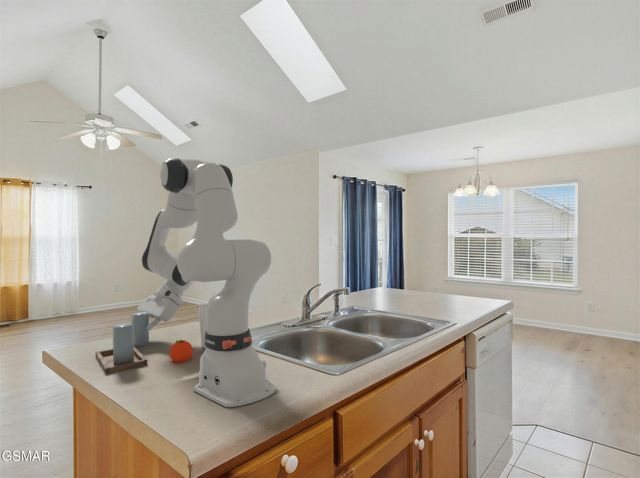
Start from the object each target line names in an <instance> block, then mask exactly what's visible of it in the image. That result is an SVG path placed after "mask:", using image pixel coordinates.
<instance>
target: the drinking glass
mask: <svg viewBox="0 0 640 478" xmlns="http://www.w3.org/2000/svg"><path fill="white" fill-rule="evenodd" d="M207 304H208V303H202V304H199V305H198V322H199V331H200V332H199V333H200V341H201V343H200V344H201V348H202V349H206V346H205V332H206V331H207V313H206V307H207Z"/></svg>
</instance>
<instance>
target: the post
mask: <svg viewBox="0 0 640 478" xmlns="http://www.w3.org/2000/svg"><path fill="white" fill-rule="evenodd" d="M149 318H150V317H149V313H148V312H139V311H137V312H134V313H131V324H133V332H134V347H135V348H138V347H145V346H148V345H149V344H150V330H148V329H146V328H145V326H146V325H147V324H148V323H150V322H149V321H150V319H149Z"/></svg>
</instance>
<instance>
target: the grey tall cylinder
mask: <svg viewBox="0 0 640 478" xmlns="http://www.w3.org/2000/svg"><path fill="white" fill-rule="evenodd" d="M112 349H113V365H114V366H116V365H120V364H125V363H130V362H134V332H133V324H132V322H131V323H129V322H127V323H119V324H115V325H113V326H112Z"/></svg>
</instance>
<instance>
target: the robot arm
mask: <svg viewBox="0 0 640 478" xmlns="http://www.w3.org/2000/svg"><path fill="white" fill-rule="evenodd" d="M232 173H233V172H232V171H231V169H230V167H229V166H227V165H224V164H220V163H215V162H209V161H204V160H199V159H187V158H181V159H180V158H179V157H174V158H167V159H166V160H165V161H164V162H163V163H162V166H161V169H160V173H159V174H160V175H159V176H160V182H161V185H162V187H163V188H164V189H165V190H166V191H167V192H168V195H167V200H166V201H167V203H166V206H165V208H164V209H162V210H161V211H159V212H158V213H157V215H156V217H155V220H154V223H153V225H152V229H151V233H150V235H149V238H148V243H147V245H146V248H145V250H144V252H143V253H142V256H141V263H142V264H141V265H142V267H143V269H145V270H146V271H149V272H151V273H154V274H156V275H158V276H160V277H162V278H164V279H166V280H165V281H163V282H162V283H161V284H160V286H159V287H158V288H157V289H156V290H155V291H154V294H151V295H148V296H147V297H146V298H145V299H144V300H143V301H142V302H141V303H140V304H139V305H138V306H137V308H136V310H137V312H148V313H149V318H152V320H151V321H150V322H149V323H148V324H147V325H146V326H145V328H146V329H148V330H149V331H151V330H152V329H153V328H154V327H155V326H157V325H158V324H159V323H160V322H164V323H167V322H168V321H170V320H171V319H172V318H173V316H174V315H175V314H176V313H177V312H178V311H179V308H181V307H182V306H184V303H185V302H184V301H183V300H182V297H183V296H184V293H185V292H186V291H187V290H188V289H190V287H191V286H192V285H193V284H194V282H200V283H209V282H220V281H221V282H222V281H225V284H224V286H223V288H222V289H221V291H220V292H218V293H217V294H215V295H213V296H212V297H211V298H210V299H209V301H208V302H207V303H206V304H207V307H206V313H207V331H206V332H205V346H206V348H204V351H203V353H202V354H201V356H200V359H199V373H198V376H199V377H198V383H196V384H195V385H194V387H193V391H194V392H195V393H197V394H199V395H202V396H203V397H205V398H207V399H209V400H211V401H213V402H215V403H217V404H219V405H221V406H223V407H225V408H234V407H235V408H236V407H241V406H244V405H249V404H253V403H256V402H258V401H261V400H264V399H266V398H268V397H270V396H272V395H273V394H274V393H275V392H276V391H277V389H276V386H275V385H274V384H273V383H272V382H271V381H270V379H268V378H267V376H266V375H267V374H266V368H267V362H266V360H265V359H261V358H260V357H259V353H258V352H256V350H255V348H254V346H253V339H252V338H253V336H252V333H251V330H250V328H249V309H250V307H249V306H250V300H251V297H252V294H253V290H254V288H255V286H256V285H257V283H258V282H259V280H260V279H261V278H262V277H263V275H265V274H267V272H268V271H269V268H270V266H271V263H272V253H271V250H270V248H269V247H268V245H267V244H266V243H265V242H262V241H258V240H253V239H225V237H224V233H226V232H228V231H230V230H231V229H232V228H234V226H235V225H236V223H237V222H238V217H239V215H238V210H237V207H236V206H237V205H236V202H235V197H234V192H233V190H232V189H233V188H232V187H233V182H234V177H233V174H232ZM195 223H196V228H195V229H196V230H195V232H194V234H193V236H192V237H191V239H190V240H189V241H188V242H186V243H185V244H184V245H182V247H181V248H180V250H179V252H178V254H176V253H174V252H172V251H171V250H168V249H167V247H166V245H165V244H166V240H167V238H168V234H169V232H170V229H185V228H189V227H191V226H193V225H194V224H195Z"/></svg>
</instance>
